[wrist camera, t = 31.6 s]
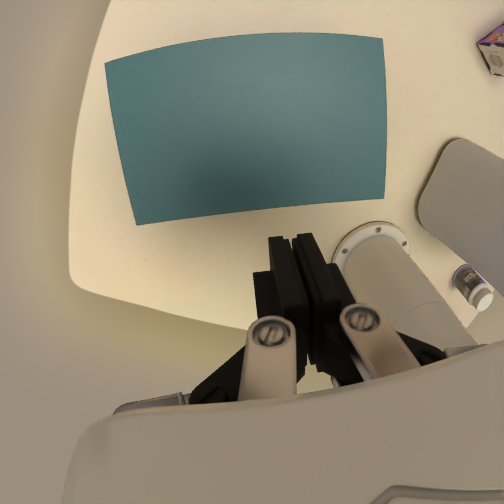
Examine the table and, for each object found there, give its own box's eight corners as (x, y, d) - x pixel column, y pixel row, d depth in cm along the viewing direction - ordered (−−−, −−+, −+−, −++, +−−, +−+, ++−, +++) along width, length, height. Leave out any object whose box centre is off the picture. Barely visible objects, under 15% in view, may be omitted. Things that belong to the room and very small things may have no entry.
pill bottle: (472, 261, 45) (497, 288, 38) (468, 280, 47) (491, 308, 40) (454, 268, 45) (479, 297, 38) (450, 287, 48) (473, 317, 40)
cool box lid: (380, 195, 28) (384, 198, 27) (138, 222, 28) (136, 225, 27) (378, 39, 20) (382, 38, 19) (107, 63, 20) (104, 63, 19)
